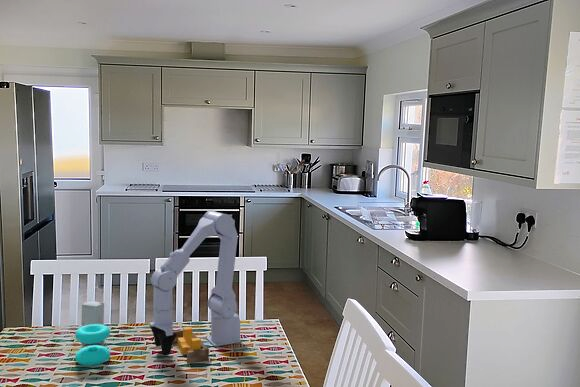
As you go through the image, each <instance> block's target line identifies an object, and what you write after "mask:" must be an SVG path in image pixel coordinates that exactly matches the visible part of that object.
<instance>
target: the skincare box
mask: <svg viewBox="0 0 580 387" xmlns="http://www.w3.org/2000/svg"><path fill="white" fill-rule="evenodd" d="M104 320H105V303H104V302H101V301H100V302H99V301H94V300H88V301H86V302H83V303H82V304H81V325H80V326H81V327H82V326H85V325H90V324H102V325H105V324H104V322H105V321H104Z"/></svg>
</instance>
